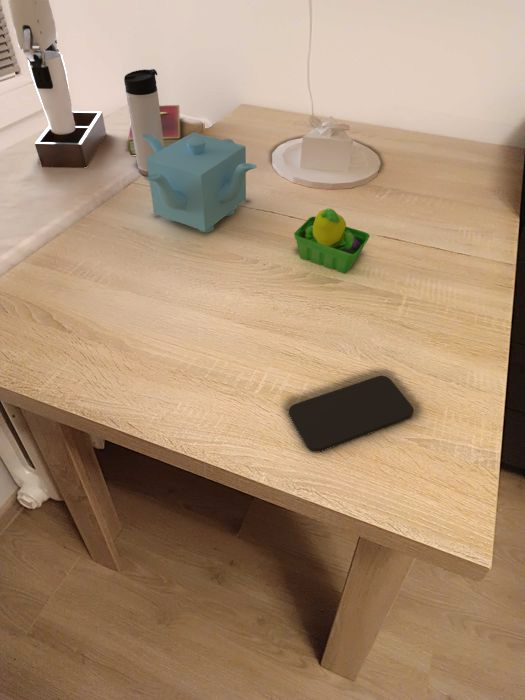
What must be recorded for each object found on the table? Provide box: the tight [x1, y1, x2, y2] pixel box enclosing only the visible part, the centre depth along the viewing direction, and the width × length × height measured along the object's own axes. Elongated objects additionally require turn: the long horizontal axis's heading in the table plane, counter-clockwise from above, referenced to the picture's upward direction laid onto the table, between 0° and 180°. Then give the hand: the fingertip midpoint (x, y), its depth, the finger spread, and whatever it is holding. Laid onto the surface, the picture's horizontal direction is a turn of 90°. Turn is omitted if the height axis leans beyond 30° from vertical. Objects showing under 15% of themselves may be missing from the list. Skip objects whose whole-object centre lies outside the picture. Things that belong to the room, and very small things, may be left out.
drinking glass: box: [27, 51, 76, 135], centre depth 106 cm, size 7×7×15 cm
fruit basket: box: [293, 208, 370, 275], centre depth 84 cm, size 11×9×11 cm
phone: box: [288, 375, 415, 452], centre depth 64 cm, size 7×1×15 cm
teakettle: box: [142, 131, 258, 233], centre depth 93 cm, size 19×19×15 cm
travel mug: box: [123, 68, 164, 177], centre depth 105 cm, size 6×7×20 cm
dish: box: [271, 115, 382, 190], centre depth 112 cm, size 25×25×11 cm
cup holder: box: [34, 110, 107, 169], centre depth 117 cm, size 10×19×5 cm, turn 0°
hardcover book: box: [127, 104, 182, 156], centre depth 123 cm, size 12×21×4 cm, turn 7°
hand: (50, 81), depth 104 cm, fingers closed on drinking glass, 6 cm apart
